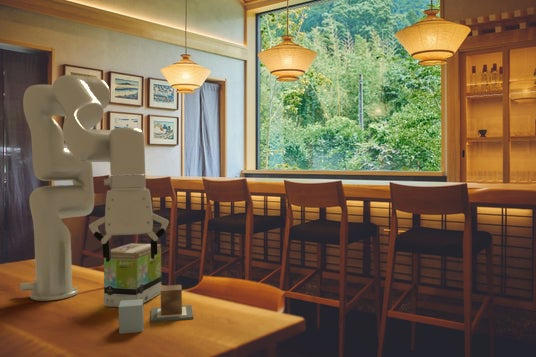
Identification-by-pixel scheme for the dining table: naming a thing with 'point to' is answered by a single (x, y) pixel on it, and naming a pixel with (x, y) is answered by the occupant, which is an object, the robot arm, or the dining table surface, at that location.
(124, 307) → the blue-grey block
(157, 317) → the slate mat
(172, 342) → the dining table surface
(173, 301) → the walnut block
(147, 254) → the tea box
